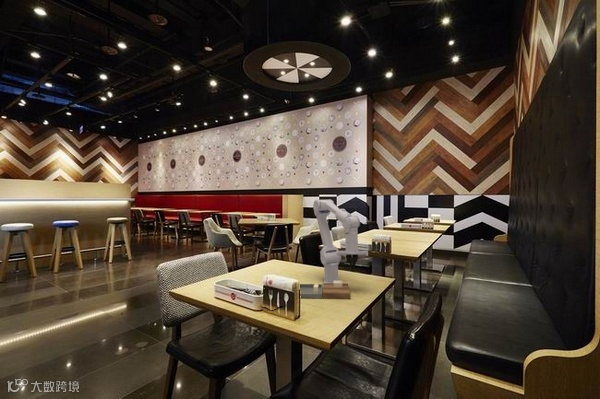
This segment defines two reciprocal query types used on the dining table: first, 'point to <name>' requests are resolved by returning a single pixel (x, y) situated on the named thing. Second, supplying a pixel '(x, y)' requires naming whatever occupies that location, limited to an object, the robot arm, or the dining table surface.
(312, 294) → the tray
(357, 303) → the dining table surface
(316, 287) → the tile
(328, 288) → the plate
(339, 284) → the tile
